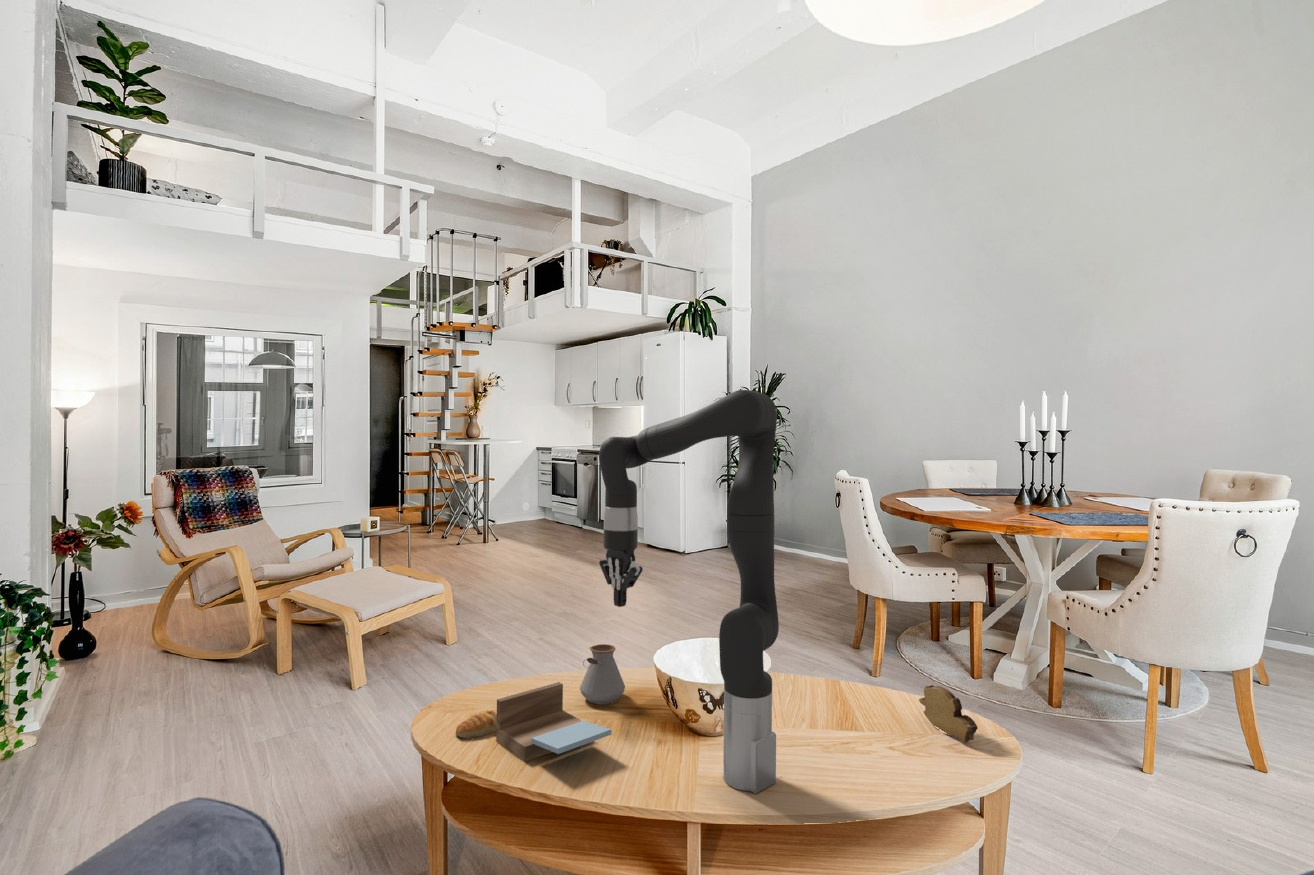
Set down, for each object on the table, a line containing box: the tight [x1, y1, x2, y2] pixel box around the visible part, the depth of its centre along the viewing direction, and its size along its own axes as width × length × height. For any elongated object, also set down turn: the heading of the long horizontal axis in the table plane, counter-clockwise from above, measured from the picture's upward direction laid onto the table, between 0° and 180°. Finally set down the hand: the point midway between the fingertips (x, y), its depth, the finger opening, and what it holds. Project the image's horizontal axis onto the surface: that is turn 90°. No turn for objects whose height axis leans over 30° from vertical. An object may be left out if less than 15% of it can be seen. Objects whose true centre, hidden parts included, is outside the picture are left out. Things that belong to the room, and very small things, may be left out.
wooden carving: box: [918, 684, 979, 743], centre depth 145 cm, size 16×5×10 cm, turn 20°
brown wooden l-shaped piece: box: [495, 681, 582, 762], centre depth 140 cm, size 12×16×9 cm
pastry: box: [455, 709, 497, 739], centre depth 144 cm, size 9×7×4 cm
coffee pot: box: [579, 643, 626, 705], centre depth 158 cm, size 21×12×15 cm, turn 171°
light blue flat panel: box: [531, 720, 613, 755], centre depth 132 cm, size 2×13×10 cm
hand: (619, 605), depth 141 cm, fingers closed
